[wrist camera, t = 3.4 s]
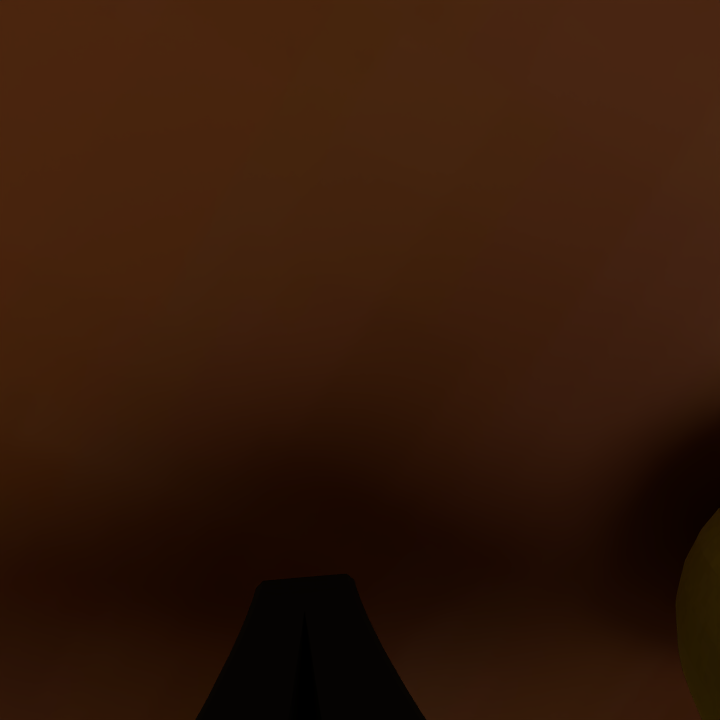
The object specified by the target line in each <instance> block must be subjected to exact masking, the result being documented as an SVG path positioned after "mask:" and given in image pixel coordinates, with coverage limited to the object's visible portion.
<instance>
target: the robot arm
mask: <svg viewBox="0 0 720 720" xmlns="http://www.w3.org/2000/svg"><path fill="white" fill-rule="evenodd" d="M196 720H426V719H425V717H424V716H423V714H422V713H421V711H420V710H419V708H418V706H417V705H416V703H415V702H414V700H413V698H412V697H411V695H410V694H409V692H408V690H407V689H406V687H405V685H404V684H403V682H402V680H401V678H400V677H399V675H398V673H397V671H396V670H395V668H394V666H393V665H392V663H391V661H390V659H389V658H388V656H387V654H386V652H385V650H384V649H383V647H382V645H381V643H380V641H379V639H378V637H377V635H376V633H375V631H374V629H373V627H372V625H371V623H370V621H369V618H368V616H367V614H366V612H365V609H364V607H363V605H362V602H361V600H360V597H359V594H358V591H357V588H356V585H355V581H354V579H353V578H351V577H350V576H349V575H348V574H337V575H326V576H314V577H303V578H291V579H280V580H268V581H263V582H262V583H261V584H260V585H259V586H258V587H257V588H256V591H255V594H254V597H253V600H252V603H251V606H250V608H249V611H248V614H247V616H246V619H245V621H244V623H243V626H242V628H241V631H240V633H239V635H238V637H237V639H236V642H235V644H234V646H233V648H232V650H231V653H230V655H229V657H228V659H227V661H226V663H225V665H224V667H223V669H222V671H221V673H220V675H219V676H218V678H217V680H216V682H215V684H214V686H213V688H212V690H211V692H210V694H209V696H208V698H207V700H206V702H205V704H204V706H203V707H202V709H201V711H200V713H199V715H198V716H197V718H196Z"/></svg>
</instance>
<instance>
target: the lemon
mask: <svg viewBox="0 0 720 720" xmlns="http://www.w3.org/2000/svg"><path fill="white" fill-rule="evenodd" d="M676 623H677V639H678V651H679V656H680V660H681V665H682V670H683V673H684V676H685V678H686V681H687V684H688V687H689V690H690V693H691V695H692V697H693V700H694V702H695V704H696V707H697V709H698V712H699V714H700V716H701V719H702V720H720V507H719V508H718V510H717V511H716V512H715V513H714V514H713V516H712V517H711V518H710V519H709V520H708V522H707V523H706V524H705V525H704V526H703V528H702V529H701V531H700V533H699V534H698V536H697V538H696V540H695V542H694V544H693V546H692V548H691V550H690V552H689V553H688V555H687V557H686V559H685V561H684V566H683V570H682V574H681V578H680V582H679V586H678V591H677V597H676Z"/></svg>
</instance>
